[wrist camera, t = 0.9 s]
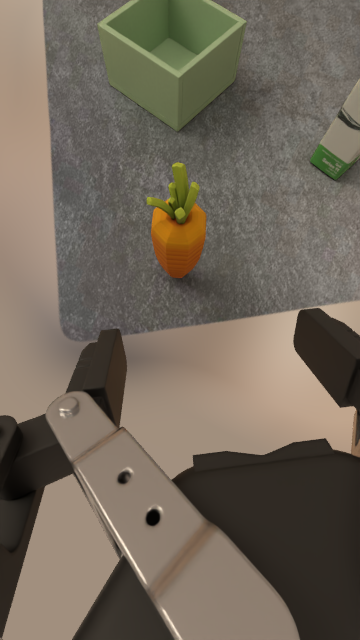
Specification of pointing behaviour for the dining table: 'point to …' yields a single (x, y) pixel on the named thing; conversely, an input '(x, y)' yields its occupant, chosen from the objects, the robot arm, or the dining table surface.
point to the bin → (172, 54)
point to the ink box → (341, 139)
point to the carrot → (178, 226)
